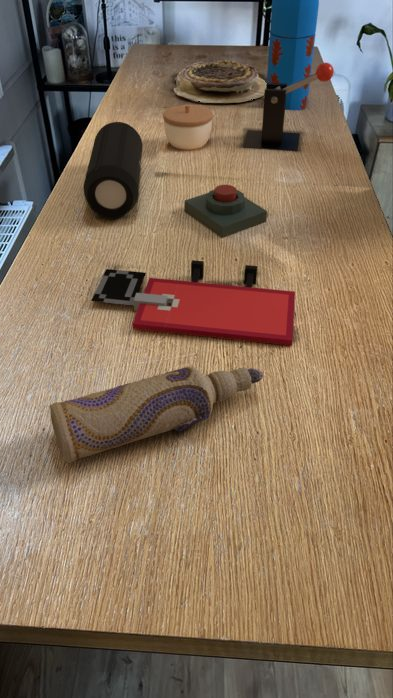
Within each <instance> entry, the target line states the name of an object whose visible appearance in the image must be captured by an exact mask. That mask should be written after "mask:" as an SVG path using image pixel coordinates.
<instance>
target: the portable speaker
mask: <svg viewBox="0 0 393 698" xmlns="http://www.w3.org/2000/svg"><path fill="white" fill-rule="evenodd" d="M143 145H144V144H143V140H142V137H141V135H140V134H139V132H138V131H137V129H135V128H134V127H133V126H131V125H130V124H128V123H126V122H123V121H122V122H121V121H113V122H109V123H107V124H105V125H103V126H102V127H101V128H100V129H99V130H98V132H97V133H96V135H95V137H94V141H93V145H92V150H91V153H90V157H89V161H88V165H87V169H86V173H85V177H84V181H83V189H82V190H83V194H84V199H85V200H86V201H85V202H86V203H87V204H88V206H89V208H90V209H91V210H92V211H93V212H94V214H96V215H98V216H99V217H101V218H104V219H109V220H111V219H112V220H113V219H119V218H122V217H124V216H125V215H127V214H129V213H130V212H131V211H133V209H134V208H135V206H136V205H137V203H138V200H139V196H140V195H139V193H140V192H139V190H140V179H141V169H142V157H143V149H144V148H143V147H144V146H143Z"/></svg>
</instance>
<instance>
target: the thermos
mask: <svg viewBox="0 0 393 698" xmlns="http://www.w3.org/2000/svg"><path fill="white" fill-rule="evenodd" d="M319 6H320V0H272V1H271V12H270V25H269V27H270V28H269V39H268V40H269V41H268V55H267V69H266V70H267V71H266V82H267V83H282V84H287V87H288V86H290V85H292V84H294V83H296V82H298V81H300V80H302V79H305V78H307V77H309V76H311V75H312V68H313V60H314V50H315V43H316V33H317V23H318V15H319V8H320V7H319ZM310 84H311V82H310V83H308V84H306V85H304V86H302V87H300V88H298V89H295V90H293V91H291V92H289V93H287V94H286V105H285V111H299V112H300V110H301V111H304V110H305V109H306V108H307V106H308V105H307V104H308V99H309V93H310V86H311V85H310Z"/></svg>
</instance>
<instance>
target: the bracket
mask: <svg viewBox="0 0 393 698" xmlns="http://www.w3.org/2000/svg"><path fill="white" fill-rule="evenodd" d="M278 86H280V88H281V89H284V88H286V87H287V84H282V83H267V84H266V89H265V93H264V95H263V96H264V97H263V111H262V123H261V124H262V126H261V130H254V129H248V130H247V133H246V135H245V138H244V142H243V145H242V148H243V149H258V150H272V151H273V150H274V151H287V152H288V151H289V152H298V151H299V145H300V138H301V133H300V132H290V131H289V132H288V131H284V127H285V126H284V125H285V117H286V116H285V114H286V113H285V112H286V110H285V105H286V90H280V89H274V88H276V87H278Z"/></svg>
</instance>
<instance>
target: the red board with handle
mask: <svg viewBox="0 0 393 698" xmlns="http://www.w3.org/2000/svg"><path fill="white" fill-rule="evenodd" d="M204 268H205V262H204V260H194V259H191V262H190V279H191V280H190V281H189V280H188V281H186V280H178V279H168V278H159V277H157V278H156V277H148V279H147V283H146V286H145V289H144V291H143V293H142V292H140V290H141V287H142V285H143V283H144V280H145V278H146V274H147V272H144V271H143V272H142V271H132V270H123V269H122V270H121V269H113V268H105V270H104V273H103V275H102V276H101V279H100V281H99V283H98V286H97V287H96V289H95V292H94V294H93V295H92V298H91V300H90V301H91V302H95V303H96V302H97V303H106V304H116V305H128V306H133V309H134V311H136V313H135V316H134V319H133V321H132V329H133V330H141V331H149V332H150V331H151V332H159V333H170V334H177V335H189V336H198V337H205V338H206V337H208V338H215V339H216V338H217V339H224V340H225V339H226V340H235V341H245V342H254V343H255V342H256V343H262V344H263V343H264V344H274V345H282V346H293V338H294V323H295V322H294V321H295V303H296V301H295V300H296V291H294V290H283V289H273V288H263V287H254V286H253V285H257V278H258V277H257V276H258V265H250V264H245V266H244V275H243V284H245V286H242V285H241V286H240V285H230V284H220V283H211V282H201V281H200V282H199V280H203V279H204V274H205V273H204V271H205V269H204ZM169 304H170V305H171V306H170V305H169Z"/></svg>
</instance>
